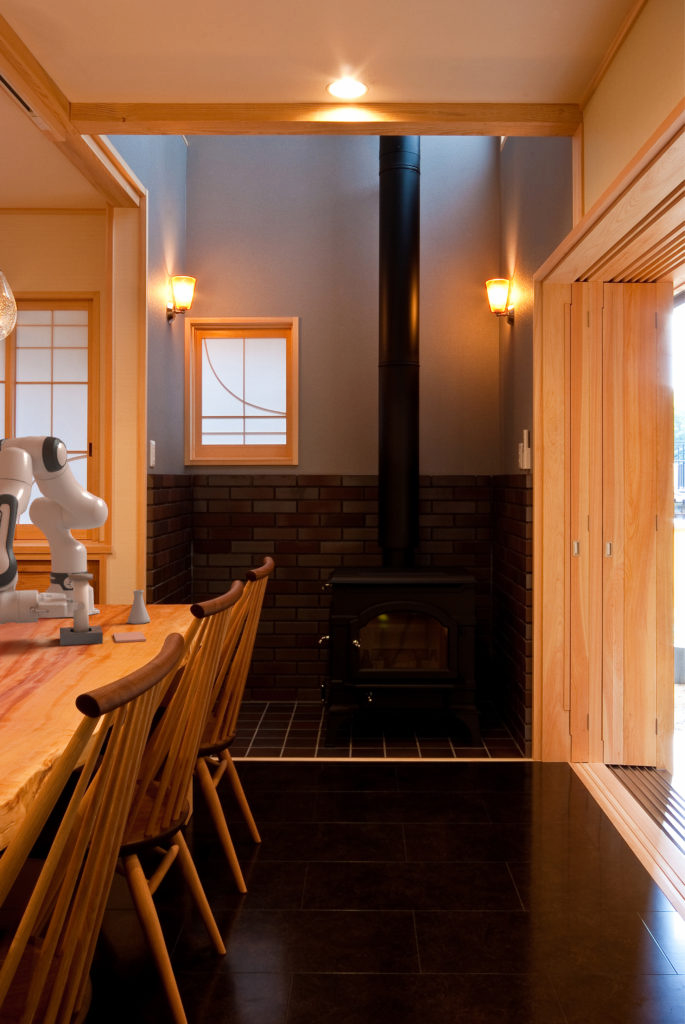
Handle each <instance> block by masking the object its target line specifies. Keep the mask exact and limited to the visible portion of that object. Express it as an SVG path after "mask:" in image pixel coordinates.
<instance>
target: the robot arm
mask: <svg viewBox="0 0 685 1024" xmlns="http://www.w3.org/2000/svg"><path fill="white" fill-rule="evenodd" d="M33 480H34V481H35V483H36V485H37V487H38V491H39V492H40V493H41V494H42V496H41V497H37V498H35V499H33V501H32V502H31V503H30V499H31V495H32V487H33ZM29 504H30V505H29ZM28 506H29V509H28V514H29V515H28V516H29V519H30V521H31V523H32V524H33V526H35V527H36V528H38V530H40V531H41V532H42V534H43V535H44V536H45V538H46V540H47V542H48V545H49V551H50V562H51V564H50V565H51V571H50V572H49V573H50V574H49V583H50V585H49V587H47V589H46V590H45V592H39V590H38V589H30V590H29V589H27V590H26V589H25V590H16V586H17V583H18V580H19V573H18V572H19V571H18V563H17V559H16V555H15V553H14V549H13V547H14V539H15V533H16V525H17V521H18V519H19V516H21V515H23V514H24V513H25V512H26V511H27V508H28ZM108 516H109V509H108V505H107V503H106V502H105V500H104V499H103V498H101V497H99V496H97V495H95V494H92V493H91V492H90V491H88V490H87V489H86V488H84V487H83V486H82V485H81V484H80V483H79V482H78V481H77V479H76V478H75V476H74V475H73V472H72V470H71V467H70V465H69V463H68V450H67V446H66V444H65V443H64V442H63V440H61V439H60V438H59V437H55V436H47V435H41V436H36V435H35V436H32V435H31V436H21V437H13V438H8V437H6V438H1V439H0V625H4V624H7V623H15V624H33V623H38V621H39V619H40V618H41V619H43V618H44V619H45V618H49V619H51V618H54V619H55V618H73V611H74V610H80V609H84V608H85V604H84V602H78V603H73V580H69V575H70V574H79V573H87V574H89V571H88V563H87V562H88V559H87V558H88V557H87V556H88V553H87V551H88V550H87V548H86V546H85V544H84V543H82V542H81V541H79V540H77V539H75V538H74V536H73V535H72V532H71V530H92V529H95V528H96V529H97V528H101V527H103V526H104V525H105V523H106V521H107V520H108ZM94 599H95V598H94V588H93V587H92V586H91V585H90V583H88V600H89V616H90V615H96V614H100V612H101V611H100V609H99V608H98V607H97V608H96V607H95V604H94Z"/></svg>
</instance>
